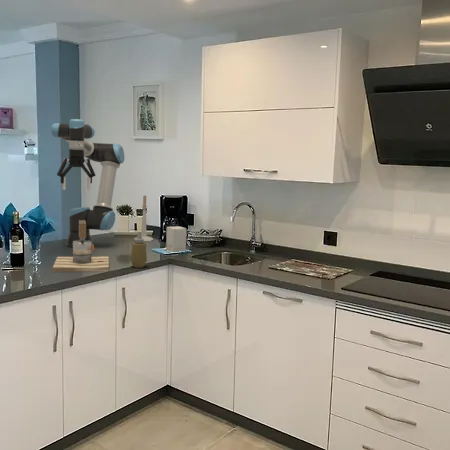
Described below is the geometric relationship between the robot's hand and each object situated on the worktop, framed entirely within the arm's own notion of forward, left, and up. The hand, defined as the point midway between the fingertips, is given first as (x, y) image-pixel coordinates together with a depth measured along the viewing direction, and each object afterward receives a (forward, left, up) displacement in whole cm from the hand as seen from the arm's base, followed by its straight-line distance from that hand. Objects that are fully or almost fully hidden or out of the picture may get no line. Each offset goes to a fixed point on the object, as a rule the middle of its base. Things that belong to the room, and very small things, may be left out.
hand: (76, 189), depth 272 cm
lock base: (+20, +4, -37) cm, 42 cm away
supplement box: (-14, +56, -37) cm, 69 cm away
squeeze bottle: (+23, +32, -37) cm, 54 cm away
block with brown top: (+20, +5, -30) cm, 37 cm away
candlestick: (-55, +40, -37) cm, 77 cm away
